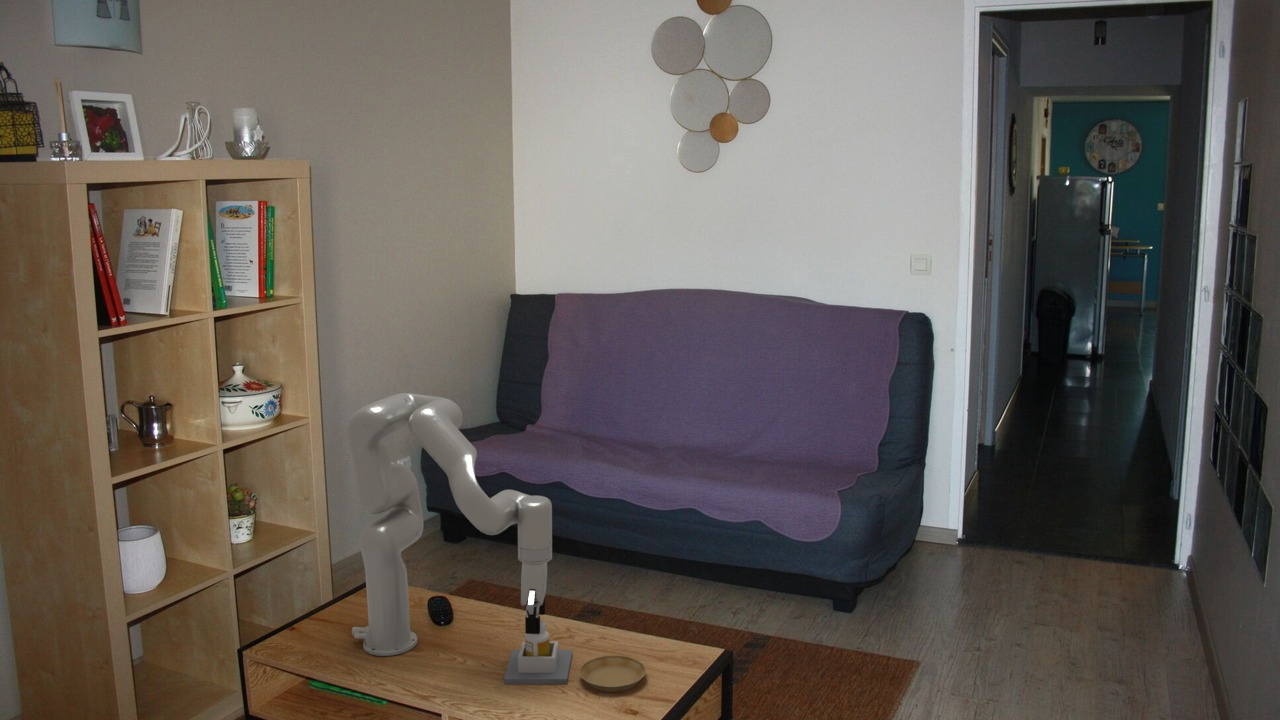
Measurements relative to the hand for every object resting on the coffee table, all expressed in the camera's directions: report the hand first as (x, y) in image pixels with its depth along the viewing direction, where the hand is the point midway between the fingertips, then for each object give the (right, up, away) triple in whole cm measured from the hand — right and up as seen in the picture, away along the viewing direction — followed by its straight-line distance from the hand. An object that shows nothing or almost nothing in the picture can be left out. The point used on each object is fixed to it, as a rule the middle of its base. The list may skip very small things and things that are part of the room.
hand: (535, 623), depth 232 cm
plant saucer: (+18, -12, -3) cm, 22 cm away
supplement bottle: (0, -10, +2) cm, 10 cm away
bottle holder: (+1, -11, +2) cm, 11 cm away
